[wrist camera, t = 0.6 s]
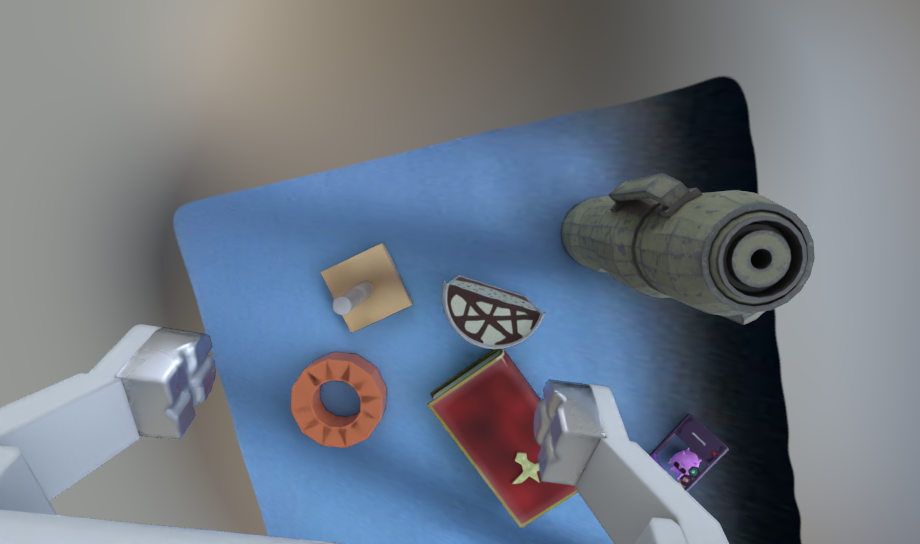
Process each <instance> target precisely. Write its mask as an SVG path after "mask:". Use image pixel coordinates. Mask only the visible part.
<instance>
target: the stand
mask: <svg viewBox="0 0 920 544" xmlns="http://www.w3.org/2000/svg"><path fill="white" fill-rule="evenodd" d="M321 274H322V276H323V278H324V280H325V282H326V284H327V286H328V288H329V290H330V292H331V294H332V296H333V298H334V301H333V305H332V306H333V310H334V311H335V312H336V313H337V314H339V315H342V316H343V318H344V320H345V322H346V324H347V326H348V328H349V330H350V332H351V333H353V332H355V331H357V330H359V329H361V328H364V327H366V326H368V325H370V324H372V323H375V322H377V321H379V320H381V319H383V318H385V317H388V316H390V315H392V314H394V313H396V312H399V311H401V310H403V309H405V308H407V307H409V306H412V304H413V302H412V300H411V298H410V295H409V293H408V291H407V289H406V287H405V285H404V283H403V281H402V279H401V277H400V275H399V273H398V271H397V269H396V267H395V265H394V263H393V261H392V259H391V256H390V254H389V252H388V250H387V248H386V246H385V244H384V243H381V244H379V245H377V246H375V247H373V248H370V249H368V250H366V251H364V252H362V253H360V254H358V255H356V256H354V257H351V258H349V259H347V260H345V261H343V262H341V263H339V264H337V265H335V266H333V267H330V268H328V269H326V270H324V271H322V272H321Z"/></svg>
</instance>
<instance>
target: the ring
mask: <svg viewBox="0 0 920 544" xmlns="http://www.w3.org/2000/svg"><path fill="white" fill-rule="evenodd" d="M330 380H335V381H344V382H346V383H347V384H349V385H350V386H352V387H353V388H355V390H356V392H357V394H358V396H359V397H360V399H361V405H360V411H359V413H356V414H354V415H352V416H349V417H342V416H335V415H334V414H332V413H331V412H329V411H328V410H326V409H325V407H324V405H323V403H322V401H321V400H320V387H321V385H322V384H323V383H326V382H328V381H330ZM386 392H387V387H386V385H385V383H384V381H383V379H382V377H381V375H380V373H379V371H378V369H377V368H376V367H375V366H374V365H372V364H371V363H369V362H368V361H366V360H365V359H363V358H362V357H361V356H359V355H358V354H352V353H341V352H332V353H330V354H328V355H326V356H324V357H321V358H319V359H317V360H315V361H313V362H312V363H311V364H310V365H309V366H308V367H306V368H305V369H304V371H303V372H302V374H301V375H300V377H299V378H298V380H297V381H296V383H295V384H294V386H293V387H292V396H291V412H292V414H293V416H294V418H295V420H296V422H297V424H298V425H299V427H300V429H301V431H302V432H303V433H304V434H306V435H307V436H309V437H310V438H312V439H313V440H315V441H316V442H318V443H319V444H321V445H322V446H332V447H342V448H347V447H349V446H351V445H354V444H356V443H358V442H360V441H363V440H365V439H367V438H368V437H369V436H370V434H371V433H372V431H373V430H374V429H375V427H376V426H377V424H378V423H379V422H380V420H381V418H382V416H383V413H384V411H385V407H386Z"/></svg>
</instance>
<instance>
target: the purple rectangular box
mask: <svg viewBox="0 0 920 544" xmlns="http://www.w3.org/2000/svg"><path fill="white" fill-rule="evenodd" d="M675 435H678V436H679V437H680V438H681V439H682V440H683V441H684V442H685V443H686V444H687V445H688V446H689V447H690V448H691V449H692V450H693V451H694V452H695V453H693V452H691V451H689V449H690V448H687V449H686V450H685V451H680V452H678V453H676V454H675V455H674V456H673V457H672V459H670V460H671V461H670V462H668V463H670V464H671V466H672V468H670V469H669V470H668V471H671V470H673V471H674V472H675V473H676V474H677V475H678V477H677V480H678V479H679V478H680V476H681V478H680V479H681V483H682V484H681V483H679V482H677V483H678V484H679V485H680V486H681V487H682V488H683V486H682V485H685V486H687V487H686V488H685V489H684V490H686V491H687V492H688V491H689V490H690V489H691V488H692V486H693V485H694V484H695V483H696V482H697V481H698V480H699V479H700V478H701V477H702V476H703V475H704V474H705V473H706V472H707V471H708V470H709V469H710V468H711V467H712V466H713V465H714V464H715V463H716V462H717V461H718V460H719V459H720V458H721V457H722V456H723V455H724V454H725V453H726V452H727V451H728V447H727V446H726V445H724V444H723V443H722V442H721V441H720V440H719V439H718V438H717V437H715V436H714V435H713V434H712V433H711V432H710V431H709V430H708V429H707V428H705V427H704V426H703V425H702V424H701V423H700V422H699V421H698V420H697V419H695V418H694V417H693V416H692V415H691V414H689V415H688V416H687V417H686V418H685V419H684V420H683V421H682V422H681V423H680V424H679V425H678V427H677V428H676V429H675V430H674V431H673V432H672V433H671V434H670V435H669V436H668V437H667V438H666V439H665V440H664V441H663V442H662V443H661V444H660V445H659V446H658V447H657V448H656V450H655V451H654V452H653V453H652V454H651V455H650V457H651V458H652V459H653V460H654V461H656V462H657V463H658V464H659V462H658V461H657V459H658V457H657V454H658V453H659V452H660V451H661V450H662V449H663V448H664V447H665V446H666V445H667V443H668V442H669V441H670V440H671V439H672V438H673V437H674V436H675ZM697 455H698V456H699V457H700V458H701V459H698V457H697ZM702 460H703V461H704V462H705V463H706V464H707V466H706V467H705V468H704V469H703V470H702V471H701V472H700V471H699V468H698V467H699V463H700V462H701V461H702ZM659 465H660V464H659ZM660 466H661V465H660ZM661 467H662V466H661ZM662 468H663V467H662ZM663 469H664V468H663ZM664 470H665V469H664ZM691 477H693V478H694V479H693V480H692V479H691Z"/></svg>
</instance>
